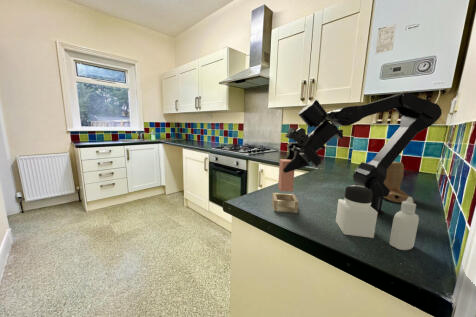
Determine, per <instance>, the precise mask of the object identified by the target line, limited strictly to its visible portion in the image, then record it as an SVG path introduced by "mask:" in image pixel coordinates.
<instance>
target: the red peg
mask: <svg viewBox="0 0 476 317" xmlns="http://www.w3.org/2000/svg"><path fill="white" fill-rule="evenodd" d="M291 160H292V159H286V158H285V159H284V158H280V159H279V167H278V185H277V188H278V189H279V191H280V192H294V180H295V170H293V171H290V172H287V173H285V172H284V171H283V170H284V168H285V167H286V166H287V165H288V164H289V162H290V161H291Z"/></svg>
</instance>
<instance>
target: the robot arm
mask: <svg viewBox="0 0 476 317" xmlns="http://www.w3.org/2000/svg"><path fill="white" fill-rule="evenodd" d="M392 109H393V110H394V109H395V111H396V112H397V114H399V115H400V116H401V117H400V124H399V125H400V126H399V127H398V129H397V130H396V131H395V132H394V134H393V135H392V136H391V137H390V138H389V139H388V140H387V142H386V143H385V144H384V145H383V147H382V148H381V149H380V150H379V151H378V153H377V154H376V155H375V156H374V158H372V159H371V161H368V162H363V161H362V162H360V164H359V165H358V167H357V168H356V169H354V170H353V175H352V178H353V182H354V184H355V185H357V186H363V187H366V188H368V189H370V190H371V191H372V192H373V194H372V201H371V205H370V206H371V207H372V208H373V209H375V210H376V211H377V212H378V214H382V215H384V214H385V211H383V210H382V206H383V202H384V201H383V200H384V197H387V196H388V194H389V193H390V190H389V189H388V188H387V187H386V185H385V184H384V181H385V179H386V176H387V169H388V168H389V166H390V165H391V164H392V163H393V162H395V160H396V159H397V158H398V157H399V156H400V154H401V153H402V152H403V151H404V150H405V149H406V148H407V146H408V145H409V144H410V143H411V141H412V140H413V139H414V138H415V137H416V135H417V134H418V133H420V132H422V131H424V130H426V129H428V128H430V127H432V125H433V124H435V123H436V122H437V121H438V120H439V119H440V118H441V116H442V114H443V113H442V109H441V106H440V105H439V104H437V103H435V102H432V101H431V100H428V99H425V98H422V97H419V96H415V95H414V94H412V93H410V92H406V91H405V92H401V93H398V94H397V93H396V94H393V95H391V96H389V97H385V98H382V99H378V100H375V101H372V102H367V103H364V104H360V105H350V106H345V107H340V108H339V107H338V108H334V109H333V110H331V111H326V110H325V109H324V107H323V106H322V105H321V103H320V102H319V100H318V99H315V100H313V101H312V102H310V103H309V104H307V105H306V106H304V107H303V108H301V109H300V110H299V112H298V113H297V115H298V117H300V118H301V120H302V121H303V122H304V123H305V124H306V126H307V127H308V128H312V127H313V128H314V130H313V131H311V132H310V133H306V129H305V128H303V127H299V128H297V129H296V128H294V127H289V129H288V130H287V133H286V134H285V138H287V139H291V140H292V141H294V142H289V143H288V144H286V147H287V151H288V152H287V156H286V157H285V159H292V160H291V161H290V162H289V164H288V165H287V166H286V167H285V168H284V170H283V171H284V172H285V173H287V172H290V171H293V170H294V171H297V170H298V169H302V168H306V167H310V166H313V167H315V168H317V167H319V166H320V165H321V164H322V158H321V156H320V155H319V154H318V153H317V152H318V151H319V150H324V149H325V148H326V146H325V145H326V144H327V143H329V142H330V141H331V140H332V139H334V138H336V139H343V138H344V133H343V132H344V129H339V128H338V127H349V126H353V125H354V124H356V123H358V122H360V121H361V120H363V119H364V118H367V117H369V116H372V115H376V114H380V113H383V112H386V111H391V110H392ZM310 163H311V165H310Z"/></svg>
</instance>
